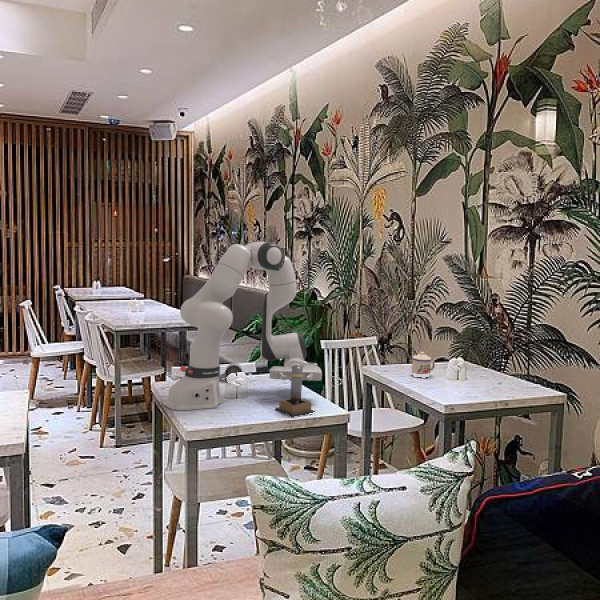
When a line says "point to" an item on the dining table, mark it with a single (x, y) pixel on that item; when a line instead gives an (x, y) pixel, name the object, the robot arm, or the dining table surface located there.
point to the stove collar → (294, 408)
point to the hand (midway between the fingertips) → (296, 378)
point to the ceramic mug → (231, 370)
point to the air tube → (296, 384)
